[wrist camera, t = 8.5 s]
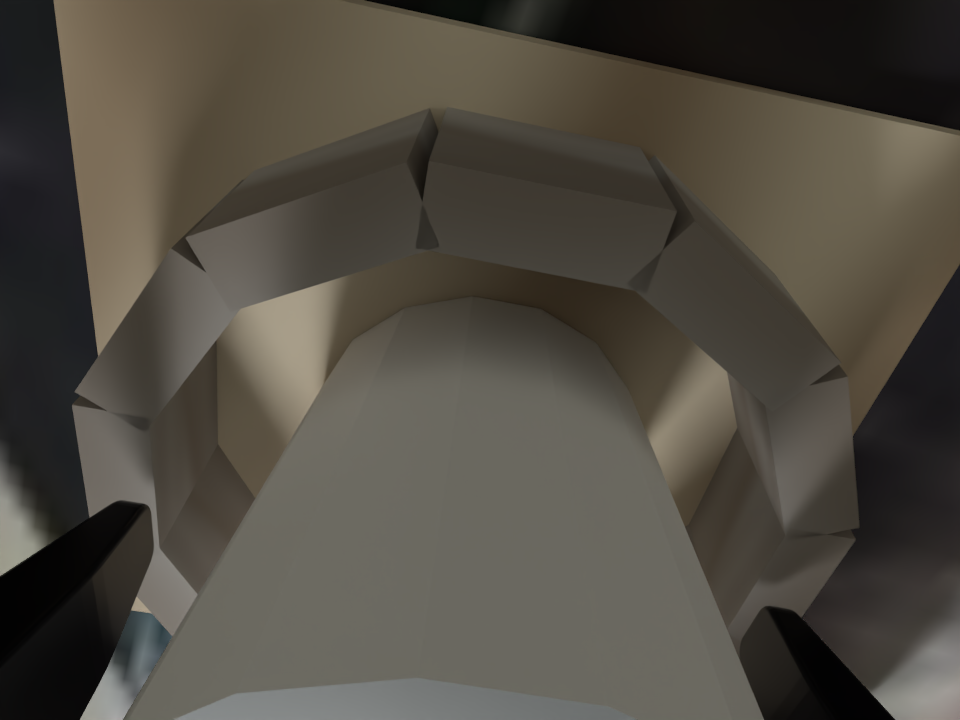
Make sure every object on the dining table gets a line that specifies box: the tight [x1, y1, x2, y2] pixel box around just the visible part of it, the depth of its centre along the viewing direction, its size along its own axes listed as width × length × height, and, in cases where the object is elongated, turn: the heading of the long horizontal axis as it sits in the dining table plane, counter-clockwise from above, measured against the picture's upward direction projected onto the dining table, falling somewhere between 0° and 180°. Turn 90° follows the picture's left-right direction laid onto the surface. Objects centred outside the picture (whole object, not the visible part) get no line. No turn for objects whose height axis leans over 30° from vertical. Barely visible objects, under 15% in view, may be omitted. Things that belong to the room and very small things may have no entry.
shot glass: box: [123, 296, 764, 720], centre depth 9 cm, size 7×7×7 cm
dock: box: [54, 0, 960, 660], centre depth 12 cm, size 13×13×3 cm
